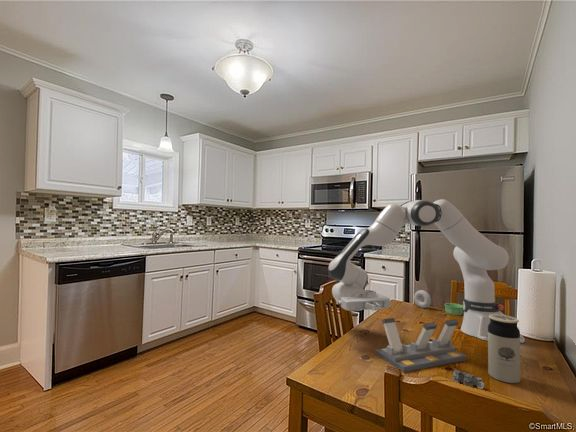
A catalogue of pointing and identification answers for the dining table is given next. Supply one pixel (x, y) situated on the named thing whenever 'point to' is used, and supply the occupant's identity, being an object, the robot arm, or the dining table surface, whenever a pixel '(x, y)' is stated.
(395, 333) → the lever outer
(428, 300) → the donut
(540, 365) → the dining table surface
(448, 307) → the ramekin
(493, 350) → the travel mug
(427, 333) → the lever middle
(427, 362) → the switch panel
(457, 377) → the egg carton
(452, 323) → the lever inner
